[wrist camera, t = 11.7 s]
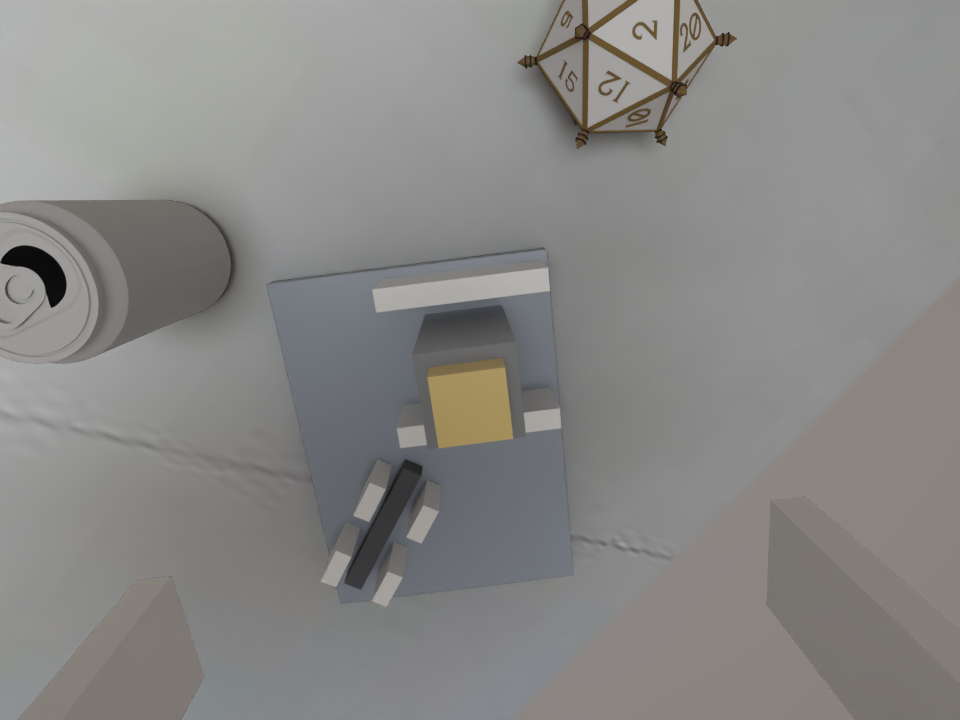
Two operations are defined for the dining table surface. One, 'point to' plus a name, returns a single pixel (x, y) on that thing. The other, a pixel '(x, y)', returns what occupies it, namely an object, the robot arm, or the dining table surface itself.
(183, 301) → the beverage can
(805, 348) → the dining table surface
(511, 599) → the dining table surface
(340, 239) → the dining table surface
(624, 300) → the dining table surface
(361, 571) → the bar
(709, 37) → the game die
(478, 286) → the end holder
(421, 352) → the connector plug
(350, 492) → the board
